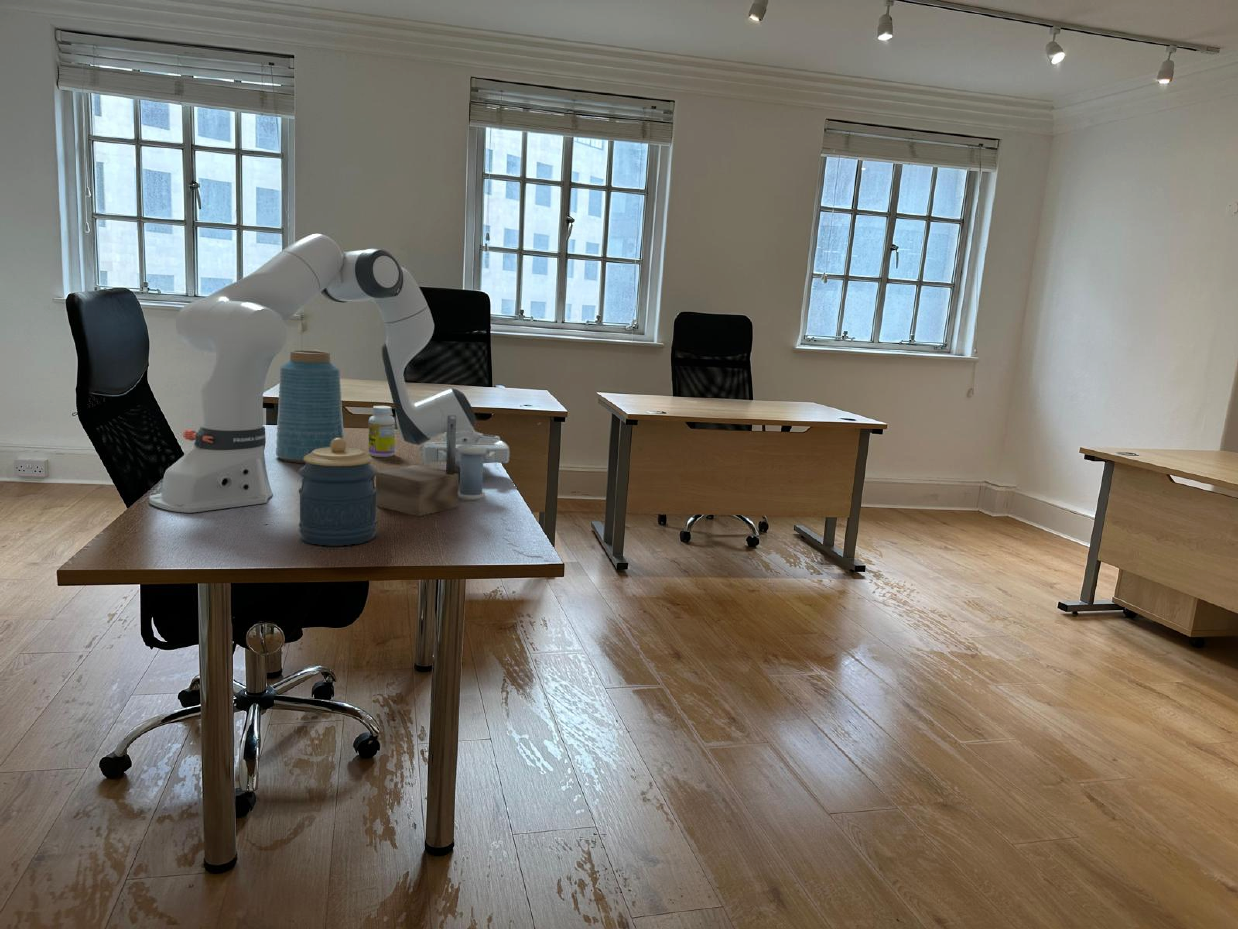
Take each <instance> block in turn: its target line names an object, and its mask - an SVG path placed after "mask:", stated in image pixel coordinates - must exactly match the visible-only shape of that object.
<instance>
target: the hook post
mask: <svg viewBox="0 0 1238 929" xmlns="http://www.w3.org/2000/svg"><path fill="white" fill-rule="evenodd" d="M455 452H456V415H447V452H446V462H445V471H446V474H450V475H452V474H455V473H456V465H455Z"/></svg>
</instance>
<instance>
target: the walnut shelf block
mask: <svg viewBox="0 0 1238 929" xmlns="http://www.w3.org/2000/svg"><path fill="white" fill-rule="evenodd" d="M459 477H460V473H456V472H455V474H452V475H450V474H446V470H441V469H437V468H433V467H428V466H423V465H418V464H415V465H407V466H402V467H397V468H389V469H386V470H385V469H384V470H380V471H377V474H376V476H375V487H376V489H377V492H376V507H378V508H383V507H384V509H387V508H388V509H387V510H391V511H395V510H397V511H396V512H398V511H400V512H399V513H402V512H403V513H402V514H406V513H409V514H408V515H410V514H412V515H411V516H414V515H416V516H415V517H418V516H420V517H423V515H424V516H427V515H426V514H428V515H430V514H429V513H432V514H436V513H439V512H438V511H440V512H443V511H442V510H444V511H447V509H448V510H450V508H452V509H455V508H454V507H456V508H458V504H459V499H458V491H459ZM435 512H436V513H435Z"/></svg>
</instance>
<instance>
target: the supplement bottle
mask: <svg viewBox="0 0 1238 929" xmlns="http://www.w3.org/2000/svg"><path fill="white" fill-rule="evenodd" d="M372 413H373V415H371V416H370V417H369V419H368V455H370V456H371V457H374V458H389V457H390V458H391V457H393V456H394V455H395V453H396V452H395V448H396V447H395V446H396V442H395V441H396V418H394V417H393V416H392V415H391V413H392V407H391V406H389V405H373V407H372Z"/></svg>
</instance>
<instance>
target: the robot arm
mask: <svg viewBox="0 0 1238 929" xmlns="http://www.w3.org/2000/svg"><path fill="white" fill-rule="evenodd" d="M319 294H321V295H323V296H324V297H325V298H326V299H328V300H330V301H332V302H335V303H348V302H351V303H352V302H354V303H356V302H367V301H372V302H373V303H374V304H375V305H376V307H377V309H378V312H379V314H380V317H381V320H382V322H383V325H384V327H385V330H386V331H385V332H386V339H385V343H384V344H383V345H382V346H381V358H382V361H383V366H384V371H385V376H386V379H387V384H388V388H389V390H390V391H389V392H390V395H391V400H392V403H393V406H394V410H395V423H396V426H397V431H398V432H399V435H400V436H401V438H402V439H403V440H404V442H406V443H409V444H412V445H416V446H420V448H419V451H420V452H421V460H422V461H423V462H432V463H433V462H434V463H435V462H438V463H446V452H447V415H456V452H455V466H457V467H460V462H461V453H459V452H458V446H461V445H479V446H484V447H486V453H485V454H483V464H497V463H498V464H499V463H500V464H507V463H509V461H510V447H509V445H508V444H507V443H506V442H505V441H503V440H501V438H500V436H498V435H493V434H487V433H481V432H478V431H476V430H475V429H474V428H476V425H477V424H476V423H477V418H476V415H475V412H474V410H473V406H472V405H471V403H470V402H469V400H468V398H467V396H466V395H465V393H464V392H463V391H460V390H459V389H458V388H457V389H456V388H454V387H451V388H448V389H445V390H442V391H440V392H437V393H435V394H434V395H432V396H429V397H426V398H423V399H422V400H421V399H420V400H419V401H415V402H411V401H410V400H411V399H410V396H409V393H408V390H407V384H406V381H405V376H404V372H405V368H406V367H407V365H408V364H409V362H411V360H412V359H414V357H416V356H417V354H419V353H420V352H421V351H422V350H423V349H424V348H425V347H426V346H427V345H428V343H429V342H430V340H431V339H432V336H433V334H434V330H435V323H434V319H433V316H432V313H431V312H432V311H431V309H430V307H429V305H428V302H427V300H426V298H425V296H424V294H423V291H422V290H421V288H420V287H419V285H418V282H416V280H415V278H414V277H413V275H412V274H411V272H410V271H409V270H407V269H406V268H405V267H403V266H400V264H399V261H397V259H396V258H395V257H394V256H393V255H392V254H391V253H390V252H389V251H386V250H384V249H380V248H367V249H358V250H350V251H344V252H343V251H342V250H341V248H340V246H339V245H338V244H337V242H335V241H334V239H332V238H331V237H329V236H328V235H325V234H323V233H322V234H321V233H313V234H309V235H307V236H304V237H303V238H301V239H298V240H296V241H295V242H294V243H291V244H289V246H287V247H285V248H284V249H282V250H281V251H280V252H279V253H277V254H276V255H275V256H273V257H272V258H271V259H270V260H268V261H267V262H265V263H264V264H262V265H261V266H260V267H259V268H257V269H255V271H253V272H251V273H250V274H248V275H247V276H245V277H243V278H241V279H239V280H237V281H234V282H233V283H231V284H228V285H227V286H224V287H223V288H221V289H219V290H217V291H215V292H214V293H211V294H210V295H208V296H205V297H203V298H201V299H198V300H194V301H192V302H189V303H187V304H186V305H184V306H183V307H182V308H181V309H180V311H179V312H178V314H177V315H176V320H175V326H176V332H177V334H178V337H179V338H180V339H181V342H183V343H184V344H185V345H187V346H189V347H190V348H192V349H194V350H196V351H198V352H201V353H203V354H206V355H211V356H212V355H213V356H216V357H215V363H214V367H213V370H212V372H211V374H210V377H209V379H208V380H207V381H206V382H205V383H204V384H203V385H202V388H201V392H200V393H201V394H200V395H201V421H202V422H201V423H202V424H201V426H200V428H199V430H198V431H196V430H191V429H189V428H188V429H185V430H184V431H183V432H182V438H184V440H187V441H192V442H193V441H194V443H193V445H194V446H193V447H192V448H191V449H189V450H188V451H187V452H186V453H185V454H183V455H182V456H181V457H180V458H178V460H177V461H176V462H174V463H172V465H171V466H169V467H168V468H167V469H166V470H165V472H164V474H163V478H162V485H161V492H160V493H156V494H152V495H149V498H148V502H149V504H150V505H152V506H154V507H156V508H160V509H162V510H166V511H170V512H178V513H186V514H187V513H189V514H192V513H197V512H198V513H201V512H207V511H208V512H209V511H216V510H222V509H229V508H237V507H245V506H252V505H260V504H265V503H267V502H268V500H269V498H270V497H272V496H273V494H274V493H273V490H272V487H271V484H270V480H269V477H268V471H267V464H266V456H265V448H266V442H267V441H266V439H267V438H266V426H264V424H263V423H264V422H263V421H264V417H263V416H264V406H263V405H264V404H263V403H264V387H265V382H266V378H267V375H268V370H269V368H270V365H271V364H272V362H273V360H274V359H275V357H276V356H277V355H278V354H280V352H281V351H282V350H283V349H284V347H285V345H286V342H287V338H288V331H287V326H286V323H285V322H286V321H285V320H288V319H290V318H292V317H294V316H295V315H296V314H297V313H299V311H301V310H302V309H303V308H305V307H306V305H307V304H309V303H310V302H311V301H312V300H314V299H315V298H316V297H318V295H319ZM443 434H444V435H443ZM440 435H443V441H429V440H431V439H433V438H435V437H437V436H440ZM421 445H422V446H421Z"/></svg>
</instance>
